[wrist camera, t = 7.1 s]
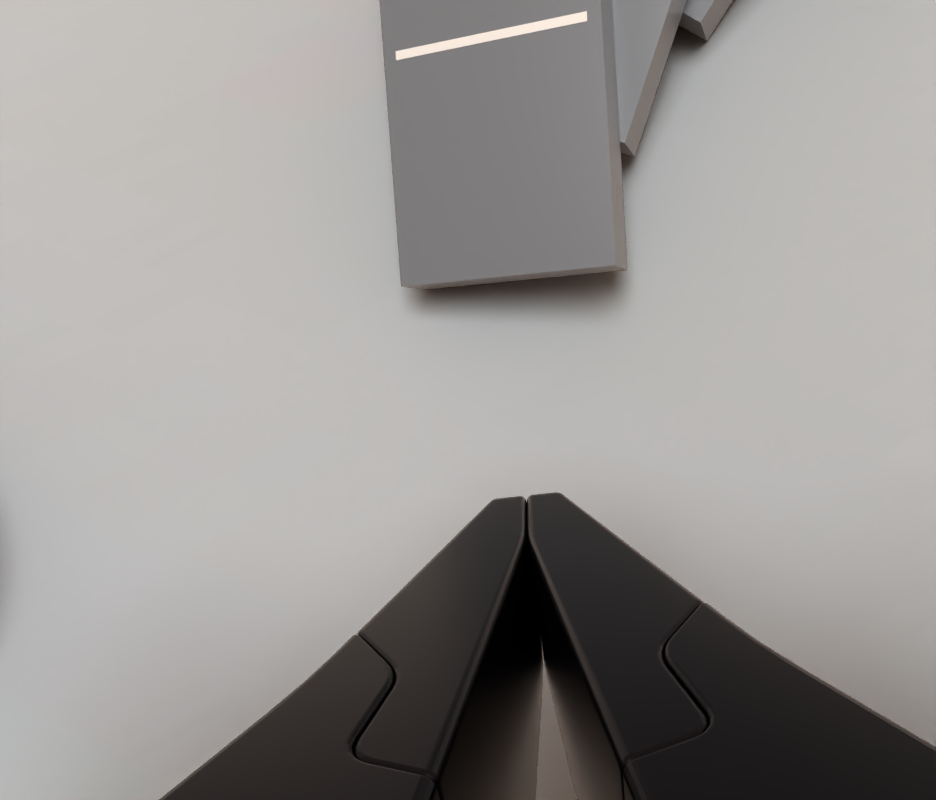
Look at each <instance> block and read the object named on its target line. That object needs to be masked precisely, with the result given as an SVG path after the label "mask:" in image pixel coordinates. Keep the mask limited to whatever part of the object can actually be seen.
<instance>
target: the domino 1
mask: <svg viewBox="0 0 936 800" xmlns="http://www.w3.org/2000/svg"><path fill="white" fill-rule="evenodd" d="M380 12H381V26H382V39H383V52H384V65H385V78H386V92H387V105H388V118H389V131H390V144H391V158H392V171H393V184H394V197H395V211H396V224H397V237H398V250H399V263H400V277H401V287H410V288H420V289H436V288H446V287H457V286H467V285H477V284H487V283H498V282H508V281H518V280H528V279H539V278H549V277H559V276H569V275H580V274H590V273H600V272H610V271H621V270H627V254H626V237H625V219H624V201H623V184H622V166H621V148H620V131H619V113H618V95H617V78H616V60H615V42H614V25H613V7H612V0H380Z"/></svg>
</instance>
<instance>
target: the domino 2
mask: <svg viewBox="0 0 936 800" xmlns="http://www.w3.org/2000/svg"><path fill="white" fill-rule="evenodd" d="M686 1H687V0H612V7H613V25H614V42H615V60H616V78H617V95H618V113H619V131H620V148H621V153H623V154H627V155H631V156H635V155H636V152H637V149H638V146H639V143H640V140H641V137H642V134H643V131H644V128H645V125H646V122H647V119H648V116H649V113H650V110H651V107H652V104H653V101H654V98H655V94H656V91H657V88H658V85H659V82H660V79H661V76H662V73H663V70H664V67H665V64H666V61H667V58H668V55H669V52H670V49H671V46H672V43H673V40H674V37H675V34H676V31H677V28H678V25H679V22H680V19H681V16H682V13H683V10H684V7H685V4H686Z"/></svg>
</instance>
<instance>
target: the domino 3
mask: <svg viewBox="0 0 936 800" xmlns="http://www.w3.org/2000/svg"><path fill="white" fill-rule="evenodd" d="M732 1H733V0H687V1H686V4H685V7H684V10H683V13H682V16H681V19H680V22H679V26H681V27H683V28H685V29H686V30H688V31H690V32H692V33H693V34H695V35H697V36H699V37H701V38H702V39H704V40H706V41H708V39H709V37H710V36H711V34H712V33H713V31H714V29H715V28H716V26H717V25H718V23H719V22H720V20H721V18H722V17H723V15H724V14H725V12H726V11H727V9H728V7H729V6H730V4H731V3H732Z"/></svg>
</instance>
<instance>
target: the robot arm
mask: <svg viewBox="0 0 936 800" xmlns="http://www.w3.org/2000/svg"><path fill="white" fill-rule="evenodd" d="M542 647H543V651H542ZM543 655H544V662H545V668H546V673H547V678H548V682H549V687H550V691H551V695H552V699H553V703H554V707H555V711H556V716H557V720H558V724H559V728H560V732H561V736H562V740H563V745H564V749H565V753H566V757H567V761H568V765H569V769H570V774H571V778H572V782H573V786H574V790H575V794H576V798H577V800H936V747H935V746H933V745H931V744H930V743H928V742H926V741H925V740H923V739H921V738H919V737H918V736H916V735H914V734H913V733H911V732H909V731H908V730H906V729H904V728H902V727H901V726H899V725H897V724H896V723H894V722H892V721H891V720H889V719H887V718H886V717H884V716H882V715H880V714H879V713H877V712H875V711H874V710H872V709H870V708H869V707H867V706H865V705H863V704H862V703H860V702H858V701H857V700H855V699H853V698H852V697H850V696H848V695H847V694H845V693H843V692H841V691H840V690H838V689H836V688H835V687H833V686H831V685H830V684H828V683H826V682H824V681H823V680H821V679H819V678H818V677H816V676H814V675H813V674H811V673H809V672H808V671H806V670H804V669H803V668H801V667H799V666H798V665H796V664H795V663H793V662H791V661H790V660H788V659H787V658H785V657H783V656H782V655H780V654H779V653H777V652H775V651H774V650H772V649H770V648H769V647H767V646H766V645H764V644H762V643H761V642H760V641H758V640H757V639H755V638H754V637H752V636H751V635H750V634H748V633H747V632H745V631H744V630H743V629H741V628H740V627H738V626H737V625H735V624H734V623H733V622H731V621H730V620H728V619H727V618H726V617H724V616H723V615H722V614H720V613H719V612H718V611H716V610H715V609H714V608H713V607H711V606H710V605H709V604H707V603H703V602H702V601H701V600H700V599H699V598H698V597H696V596H695V595H694V594H692V593H691V592H690V591H688V590H687V589H686V588H684V587H683V586H682V585H680V584H679V583H678V582H677V581H675V580H674V579H673V578H671V577H670V576H669V575H667V574H666V573H665V572H663V571H662V570H661V569H660V568H658V567H657V566H656V565H654V564H653V563H652V562H650V561H649V560H648V559H646V558H645V557H644V556H642V555H641V554H640V553H639V552H637V551H636V550H635V549H633V548H632V547H631V546H629V545H628V544H627V543H625V542H624V541H623V540H621V539H620V538H619V537H618V536H616V535H615V534H614V533H612V532H611V531H610V530H608V529H607V528H606V527H604V526H603V525H602V524H600V523H599V522H598V521H597V520H595V519H594V518H593V517H591V516H590V515H589V514H587V513H586V512H585V511H583V510H582V509H581V508H579V507H578V506H577V505H576V504H574V503H573V502H572V501H570V500H569V499H568V498H566V497H565V496H564V495H562V494H560V493H546V494H537V495H531V496H529V497H528V499H527V502H526V499H525V498H524V497H521V496H518V497H508V498H499V499H494V500H492V501H491V502H490V503H489V504H488V505H487V506H486V507H485V508H484V509H483V510H482V511H481V512H480V513H479V514H478V515H477V516H476V517H475V518H474V519H473V520H472V521H470V522H469V523H468V524H467V525H466V526H465V527H464V528H463V529H462V530H461V531H460V532H459V533H458V534H457V535H456V536H455V537H454V538H453V539H452V540H451V541H450V542H449V543H448V544H447V545H446V546H445V547H444V548H443V549H442V550H441V551H440V552H439V553H438V554H437V555H436V556H435V557H434V558H433V559H432V560H431V561H430V562H429V563H428V564H427V565H426V566H425V567H424V568H423V569H422V570H421V571H420V572H419V573H418V574H417V575H416V576H415V577H414V578H413V579H412V580H411V581H410V582H409V583H408V584H407V585H406V586H405V587H404V588H403V589H402V590H401V591H400V592H399V593H398V594H397V595H396V596H394V597H393V598H392V599H391V600H390V601H389V602H388V603H387V604H386V605H385V606H384V607H383V608H382V609H381V610H380V611H379V612H378V613H377V614H376V615H375V616H374V617H373V618H372V619H371V620H370V621H369V622H368V623H367V624H366V625H365V626H364V627H363V628H362V629H361V630H360V631H359V632H358V635H354V636H352V637H351V638H350V639H349V640H348V641H347V642H346V643H345V644H344V645H343V646H342V647H341V648H340V649H339V650H338V651H337V652H336V653H335V654H334V655H333V656H332V657H331V658H330V659H329V660H327V661H326V662H325V663H324V664H323V665H322V666H321V667H320V668H319V669H318V670H317V671H316V672H315V673H313V674H312V675H311V676H310V677H309V678H308V679H307V680H306V681H305V682H304V683H303V684H301V685H300V686H299V687H298V688H297V689H295V690H294V691H293V692H292V693H291V694H289V695H288V696H287V697H286V698H285V699H283V700H282V701H281V702H280V703H279V704H277V705H276V706H275V707H274V708H273V709H272V710H270V711H269V712H268V713H267V714H266V715H264V716H263V717H262V718H261V719H259V720H258V721H257V722H256V723H254V724H253V725H252V726H251V727H249V728H248V729H247V730H246V731H244V732H243V733H242V734H241V735H239V736H238V737H237V738H236V739H234V740H233V741H232V742H231V743H229V744H228V745H227V746H226V747H224V748H223V749H222V750H221V751H219V752H218V753H217V754H216V755H214V756H213V757H212V758H211V759H209V760H208V761H207V762H206V763H204V764H203V765H202V766H201V767H199V768H198V769H197V770H196V771H194V772H193V773H192V774H191V775H189V776H188V777H187V778H186V779H184V780H183V781H182V782H181V783H180V784H178V785H177V786H176V787H175V788H173V789H172V790H171V791H170V792H168V793H167V794H166V795H165V796H163V797H162V798H161V799H160V800H535V796H536V781H537V765H538V749H539V733H540V718H541V702H542V686H543Z"/></svg>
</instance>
